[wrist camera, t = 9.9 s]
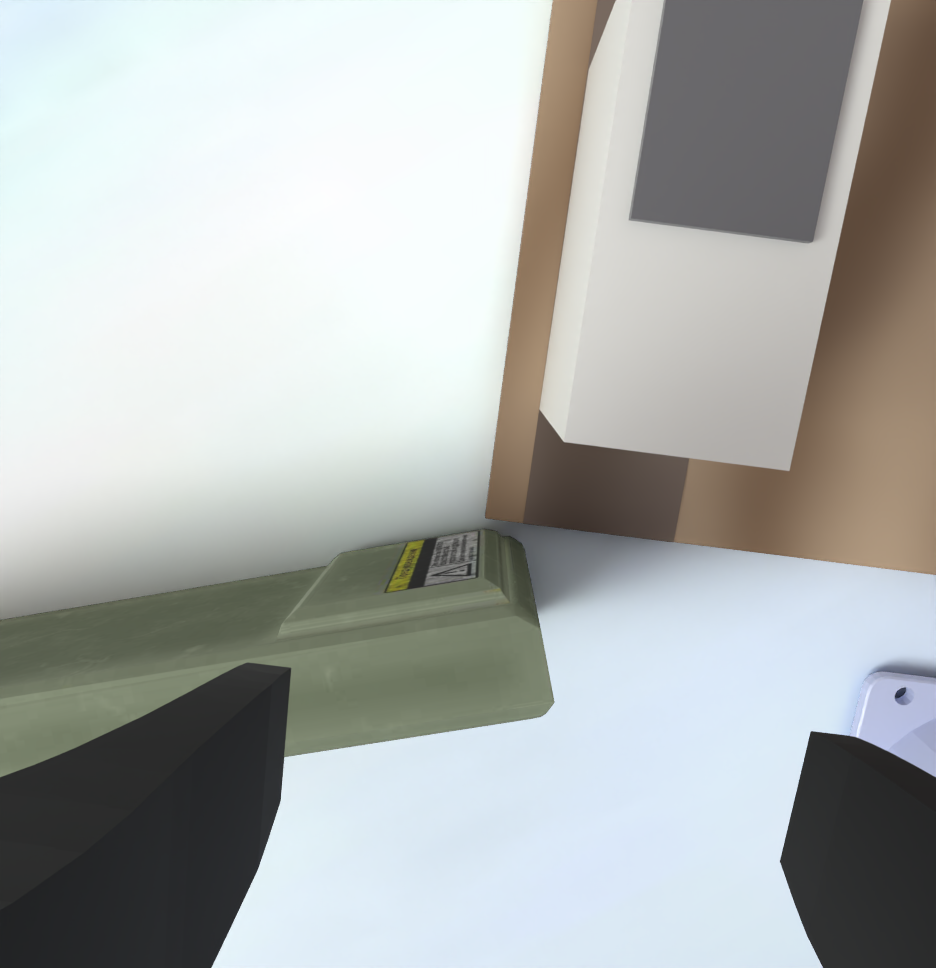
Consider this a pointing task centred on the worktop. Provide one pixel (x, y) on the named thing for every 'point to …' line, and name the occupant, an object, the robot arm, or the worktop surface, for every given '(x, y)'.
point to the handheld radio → (294, 650)
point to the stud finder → (707, 223)
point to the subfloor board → (836, 365)
